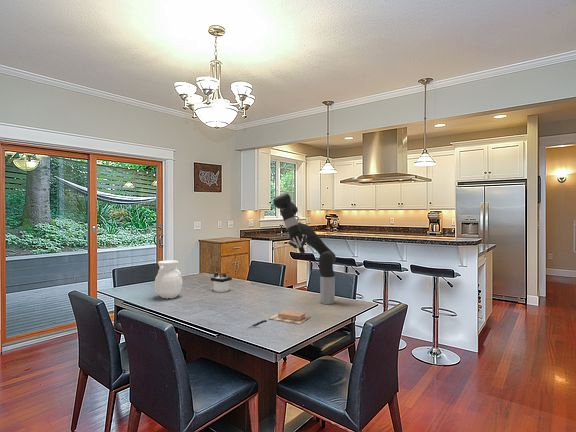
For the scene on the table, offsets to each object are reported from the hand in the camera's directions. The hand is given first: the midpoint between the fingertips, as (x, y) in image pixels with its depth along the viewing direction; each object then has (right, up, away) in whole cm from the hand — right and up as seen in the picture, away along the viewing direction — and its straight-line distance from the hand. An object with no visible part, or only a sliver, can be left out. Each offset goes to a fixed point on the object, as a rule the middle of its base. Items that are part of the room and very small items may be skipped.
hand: (303, 253), depth 208 cm
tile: (-12, -33, -8) cm, 36 cm away
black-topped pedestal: (-59, -35, +58) cm, 90 cm away
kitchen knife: (-27, -36, -28) cm, 53 cm away
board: (-8, -35, -11) cm, 37 cm away
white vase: (-92, -35, +39) cm, 106 cm away
